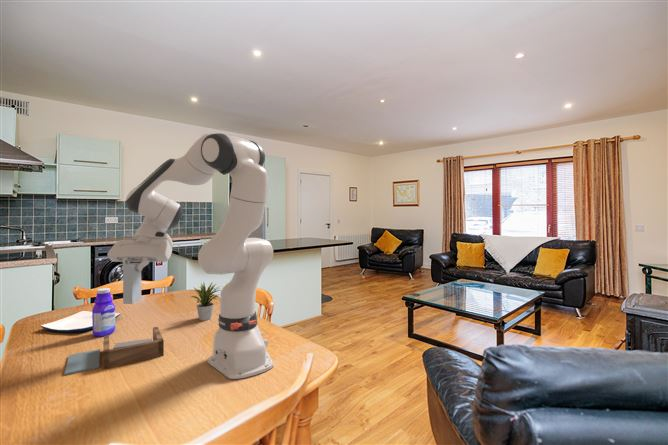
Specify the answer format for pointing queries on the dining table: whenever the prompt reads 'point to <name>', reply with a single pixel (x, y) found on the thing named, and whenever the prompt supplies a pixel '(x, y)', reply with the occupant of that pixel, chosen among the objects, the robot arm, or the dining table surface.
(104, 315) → the bottle
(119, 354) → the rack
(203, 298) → the house plant
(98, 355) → the slate mat
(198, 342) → the dining table surface
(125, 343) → the offcut stack
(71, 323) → the plate
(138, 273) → the grey rectangular block
